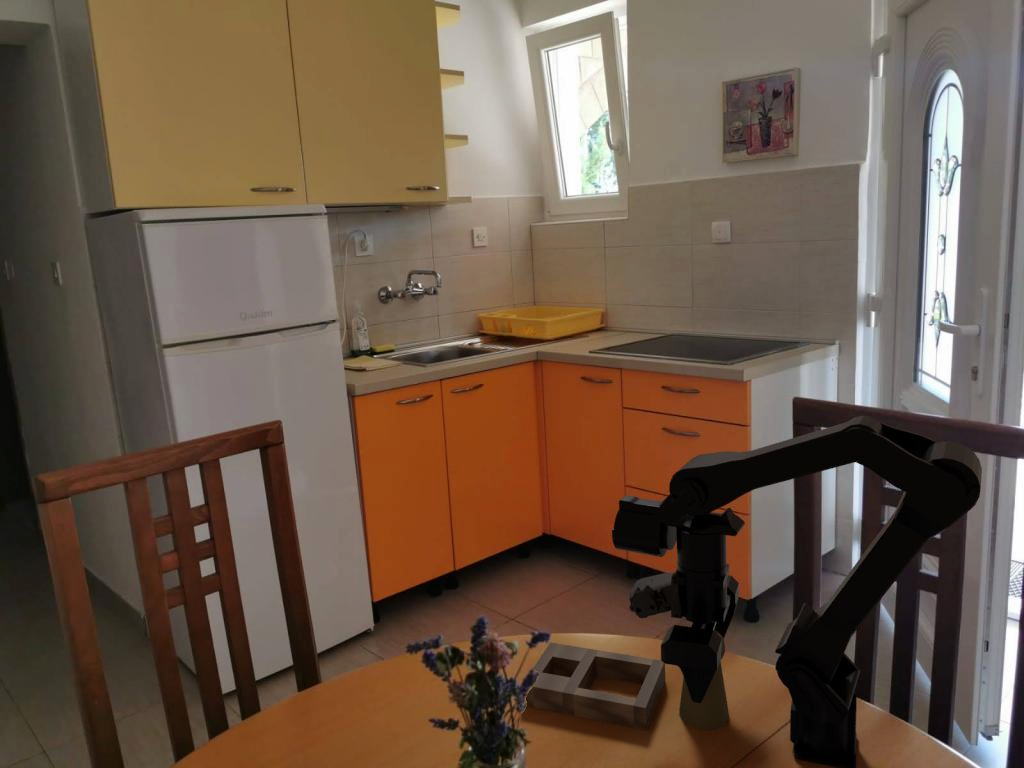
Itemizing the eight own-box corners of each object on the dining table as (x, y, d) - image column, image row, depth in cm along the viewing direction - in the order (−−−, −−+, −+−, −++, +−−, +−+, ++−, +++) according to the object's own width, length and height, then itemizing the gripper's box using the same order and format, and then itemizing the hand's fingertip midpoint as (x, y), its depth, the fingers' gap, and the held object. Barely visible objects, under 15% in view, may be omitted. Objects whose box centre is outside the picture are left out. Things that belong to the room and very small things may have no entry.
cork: (717, 735, 93) (716, 651, 91) (670, 718, 97) (668, 637, 95) (737, 708, 98) (736, 628, 96) (691, 693, 101) (690, 615, 99)
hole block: (665, 681, 104) (664, 661, 104) (646, 730, 95) (645, 707, 94) (551, 661, 111) (550, 642, 110) (523, 705, 101) (521, 684, 101)
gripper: (652, 526, 105) (655, 633, 108) (613, 588, 88) (619, 713, 91) (739, 534, 100) (739, 645, 103) (715, 602, 84) (717, 732, 87)
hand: (703, 680), depth 96 cm, fingers open, 9 cm apart
